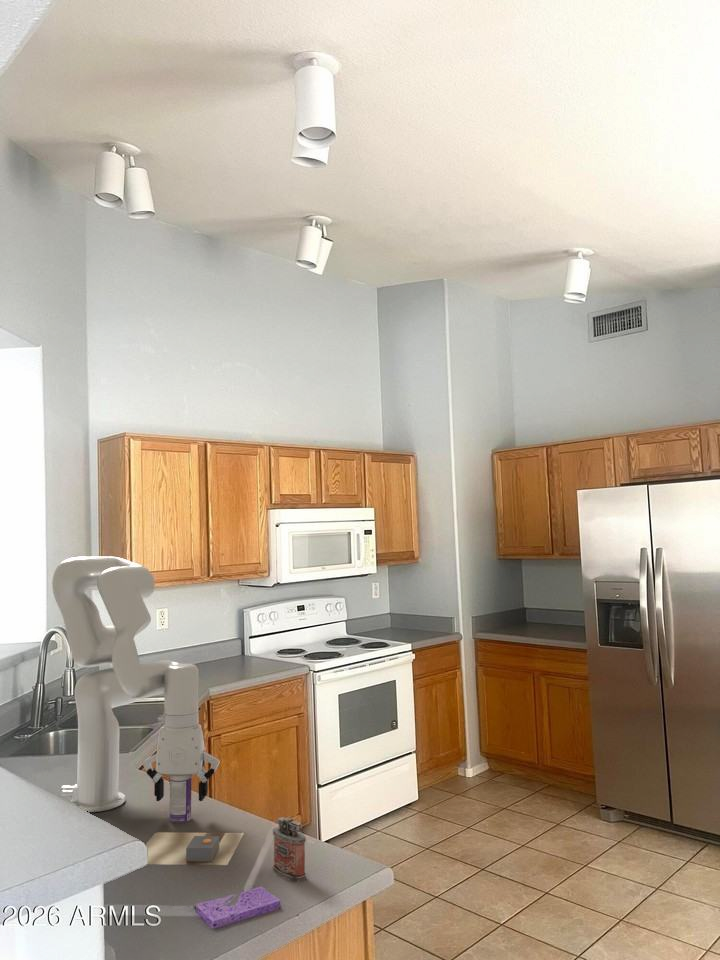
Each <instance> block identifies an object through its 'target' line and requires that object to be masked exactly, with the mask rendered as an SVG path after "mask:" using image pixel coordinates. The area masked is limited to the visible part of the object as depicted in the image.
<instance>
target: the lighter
mask: <svg viewBox="0 0 720 960" xmlns="http://www.w3.org/2000/svg"><path fill="white" fill-rule="evenodd" d="M277 823H278V827H274V828H273V829H272V835H273V866H272V872H273V873H274V874H276V875H277V876H278V877H281V878H282V879H285V880H288V881H291V882H293V883H302V882H304V881H306V879H307V873H306V870H305V869H306V865H305V864H306V863H305V862H306V859H305V858H306V857H305V855H306V851H305V850H306V848H305V847H306V844H305V843H306V842H307V841H306V838H307V837H306V835H305V834H303V833H301V832H302V831H303V824H302V823H300V822H298V821H294V818H292V817H287V818H286V817H278V821H277Z"/></svg>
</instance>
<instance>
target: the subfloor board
mask: <svg viewBox="0 0 720 960" xmlns="http://www.w3.org/2000/svg"><path fill="white" fill-rule="evenodd" d="M244 834H245V832H167V831H166V832H164V831H162V832H161V831H160V832H159V831H158V832H157V831H156V832H154V834H153V835H152V836H151V837H150V838H149V840H148V841H147V842H146V843H145V844H146V846H147V849H148V864H147V865H153V866H154V865H162V866H163V865H165V866H167V865H169V866H171V865H172V866H173V865H174V866H177V865H178V866H179V865H180V866H181V865H183V866H228V865H229V862H230V861H231V858H233V856H234V853H235V851H237V848H238V846H239V844H240V842H241V840H242V838H243V837H244ZM194 836H219V851H218V852H217V854H216V856H215V857H214V859H213V861H212V862H186V848H187V846H188V845H189V843H190V842H191V840H192V839H193V838H194Z"/></svg>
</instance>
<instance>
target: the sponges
mask: <svg viewBox="0 0 720 960" xmlns="http://www.w3.org/2000/svg"><path fill="white" fill-rule="evenodd" d="M231 897H233V898H231ZM237 897H238V898H237ZM234 898H237V900H236V903H235V904H230V902H231V900H233V899H234ZM226 901H227V902H226ZM227 904H228V905H227ZM229 904H230V905H229ZM281 904H282V903H281V899H279V898H278V897H276V896H275V895H274V894H271V893H270V892H269V891H267V890H266V889H265V888H264V887H263V886H258V887H257V886H256V887H255V888H252V889H247V890H245V891H242V892H240V893H239V896H237V894H236V893H234V894H230V895H226V896H225V897H219V898H216V899H211V900H207V901H203V902H199V903H196V904H195V912H196V913H195V914H197V915H198V916H199V917H200V918H201V919H202V920H203V921H204V922H205V923H206V924H207V925H208V926H209V927H210V928H211V929H212V930H214V929H218V928H220V927H224V926H227V925H230V924H233V923H236V922H239V921H243V920H245V919H249V918H253V917H255V916H259V915H263V914H266V913H269V912H272V911H275V910H278V909H280V907H281Z"/></svg>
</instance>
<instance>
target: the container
mask: <svg viewBox="0 0 720 960" xmlns="http://www.w3.org/2000/svg"><path fill="white" fill-rule="evenodd" d="M190 820H192V775H169V822H171V823H173V824H183V823H186V822H189V821H190Z"/></svg>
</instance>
